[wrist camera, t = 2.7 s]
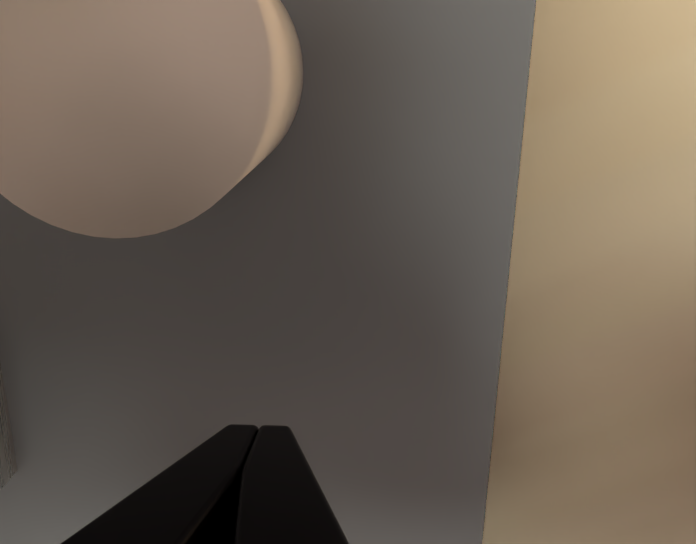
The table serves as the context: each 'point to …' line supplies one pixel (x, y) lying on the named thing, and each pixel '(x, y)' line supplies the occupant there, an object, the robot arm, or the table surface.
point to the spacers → (140, 106)
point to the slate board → (296, 292)
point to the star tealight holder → (5, 440)
